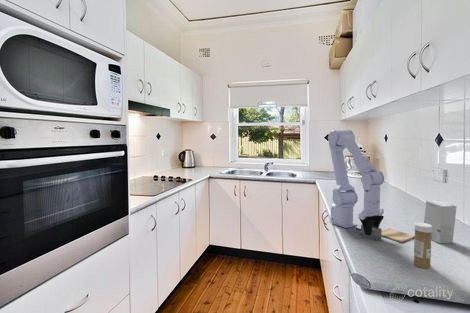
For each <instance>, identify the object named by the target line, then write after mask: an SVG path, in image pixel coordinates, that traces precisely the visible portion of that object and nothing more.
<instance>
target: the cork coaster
mask: <svg viewBox="0 0 470 313" xmlns="http://www.w3.org/2000/svg"><path fill="white" fill-rule="evenodd" d="M381 238H386V239H388V240H391V241H395V242H398V243H401V244H403V243H405V242H407V241H410V240H412V239H414V238H415V234H414V235H413V234H410V233H406V232H403V231H399V230H397V229H393V228H387V229H384V230H382V236H381Z"/></svg>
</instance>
